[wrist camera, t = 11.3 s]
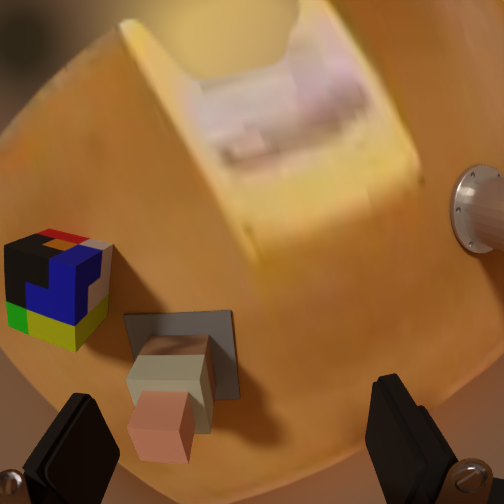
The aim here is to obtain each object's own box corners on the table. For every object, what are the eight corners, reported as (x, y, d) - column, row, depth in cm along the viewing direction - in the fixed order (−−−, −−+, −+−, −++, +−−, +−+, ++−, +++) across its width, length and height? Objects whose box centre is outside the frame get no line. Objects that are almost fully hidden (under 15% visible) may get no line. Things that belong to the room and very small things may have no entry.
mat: (230, 309, 40) (230, 311, 39) (240, 397, 43) (240, 399, 43) (124, 314, 40) (123, 315, 39) (146, 397, 43) (146, 399, 42)
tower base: (208, 334, 40) (204, 354, 35) (216, 383, 42) (213, 406, 37) (149, 335, 40) (138, 355, 35) (160, 384, 42) (152, 406, 37)
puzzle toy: (113, 243, 37) (75, 266, 28) (107, 315, 40) (75, 352, 30) (49, 228, 37) (4, 245, 27) (47, 297, 39) (8, 326, 29)
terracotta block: (188, 391, 31) (178, 431, 25) (195, 425, 32) (188, 464, 26) (142, 390, 30) (126, 427, 25) (152, 423, 32) (140, 460, 26)
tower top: (204, 354, 35) (199, 380, 30) (213, 406, 37) (210, 433, 32) (138, 355, 35) (125, 379, 30) (152, 406, 37) (143, 431, 32)
